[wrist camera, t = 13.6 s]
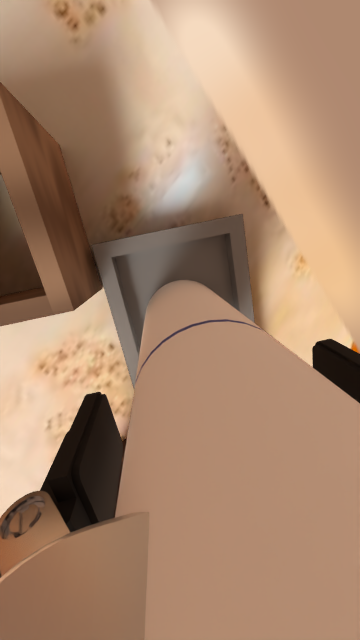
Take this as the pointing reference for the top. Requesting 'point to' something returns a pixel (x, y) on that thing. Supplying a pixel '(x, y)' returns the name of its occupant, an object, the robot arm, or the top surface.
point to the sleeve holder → (43, 218)
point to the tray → (172, 272)
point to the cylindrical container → (240, 480)
